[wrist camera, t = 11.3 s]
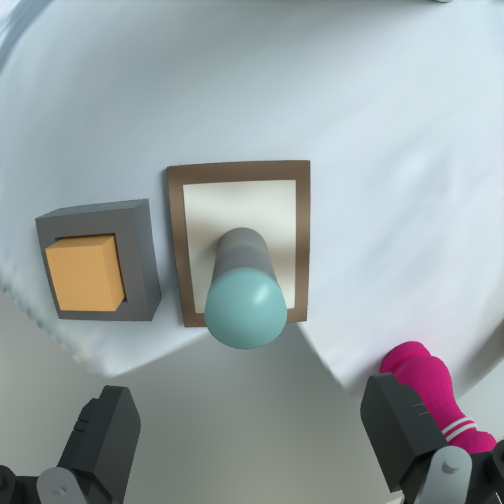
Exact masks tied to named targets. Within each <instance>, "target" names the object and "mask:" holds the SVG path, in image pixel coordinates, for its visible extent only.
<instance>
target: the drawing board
mask: <svg viewBox="0 0 504 504" xmlns="http://www.w3.org/2000/svg"><path fill="white" fill-rule="evenodd" d="M167 176H168V190H169V202H170V213H171V224H172V234H173V243H174V252H175V261H176V269H177V277H178V285H179V292H180V299H181V306H182V313H183V319H184V326H185V327H207V326H206V323H205V318H204V310H205V304H206V298H207V294H208V291H209V288H210V286H211V281H212V275H213V269H214V264H215V258H216V253H217V247H218V244H219V241H220V240H221V238H222V237H223V235H225V234H226V233H227V232H228V231H230V230H232V229H235V228H240V227H245V228H250V229H253V230H255V231H256V232H258V233H259V234H260V235H261V236H262V237H263V238H264V240H265V242H266V245H267V248H268V252H269V255H270V259H271V262H272V265H273V269H274V272H275V276H276V279H277V282H278V284H279V286H280V288H281V290H282V293H283V296H284V299H285V303H286V307H287V319H286V323H289V322H302V321H307V305H308V283H309V254H310V161H308V160H281V161H244V162H222V163H206V164H192V165H179V166H169V167H167Z"/></svg>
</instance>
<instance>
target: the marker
mask: <svg viewBox="0 0 504 504" xmlns="http://www.w3.org/2000/svg"><path fill="white" fill-rule="evenodd" d="M204 318H205V323H206V326H207V328H208V330H209V331H210V333H211V334H212V335H213V336H214V337H215V338H216V339H217V340H218V341H220V342H221V343H223V344H225V345H227V346H230V347H233V348H237V349H252V348H257V347H260V346H263V345H265V344H268V343H269V342H271V341H272V340H273V339H275V338H276V337H277V336H278V335H279V334H280V332H281V331H282V329H283V328H284V325H285V323H286V319H287V307H286V303H285V299H284V296H283V293H282V290H281V288H280V286H279V284H278V282H277V279H276V276H275V272H274V269H273V265H272V262H271V259H270V255H269V252H268V248H267V245H266V242H265V240H264V238H263V237H262V236H261V235H260V234H259V233H258V232H256V231H255V230H253V229H250V228H245V227H240V228H235V229H232V230H230V231H228V232H227V233H226V234H225V235H223V237H222V238H221V240H220V241H219V244H218V247H217V253H216V258H215V264H214V269H213V275H212V281H211V286H210V288H209V291H208V294H207V298H206V304H205V310H204Z"/></svg>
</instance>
